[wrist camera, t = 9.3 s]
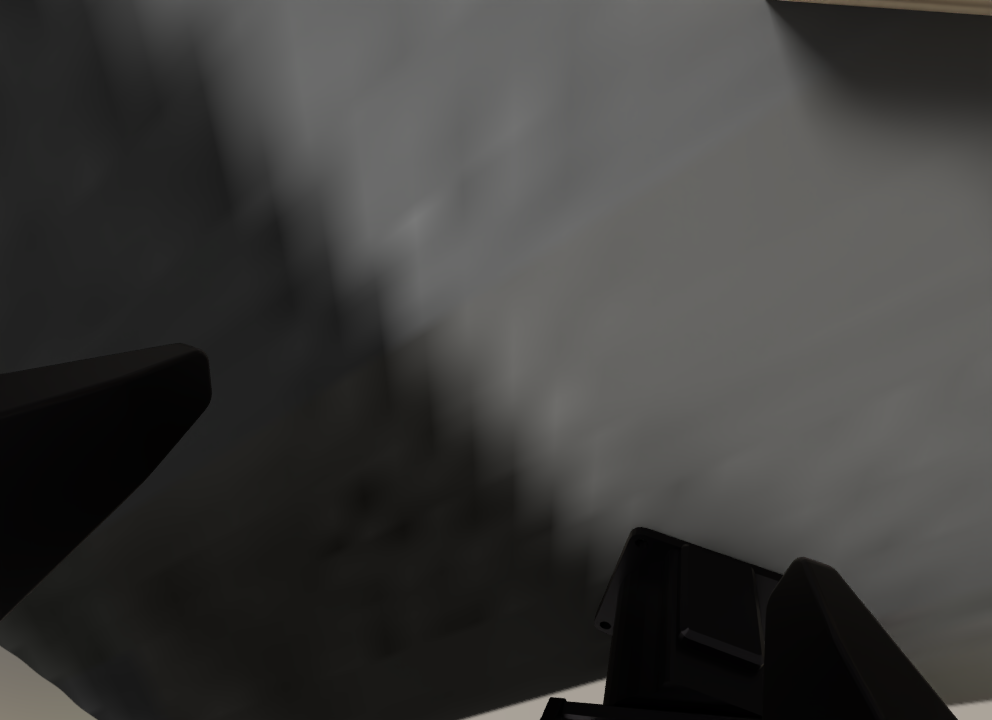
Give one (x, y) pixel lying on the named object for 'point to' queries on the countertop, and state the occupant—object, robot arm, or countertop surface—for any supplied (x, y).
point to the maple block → (918, 5)
